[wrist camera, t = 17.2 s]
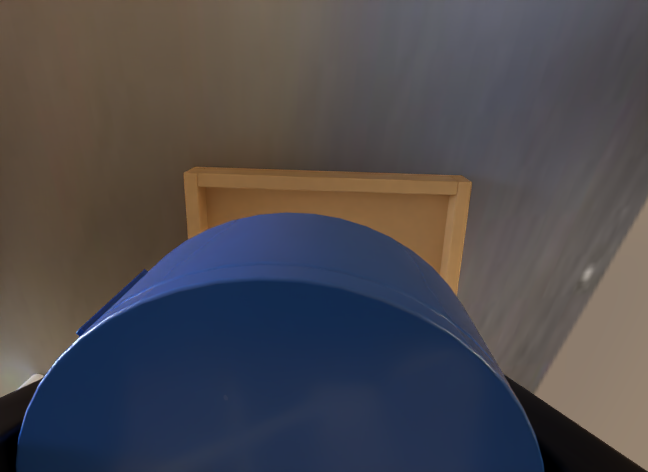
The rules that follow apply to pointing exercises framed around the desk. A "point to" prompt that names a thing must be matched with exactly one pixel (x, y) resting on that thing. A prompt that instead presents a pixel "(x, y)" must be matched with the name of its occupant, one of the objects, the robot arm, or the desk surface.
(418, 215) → the tray
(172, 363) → the jar lid
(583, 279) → the desk surface
